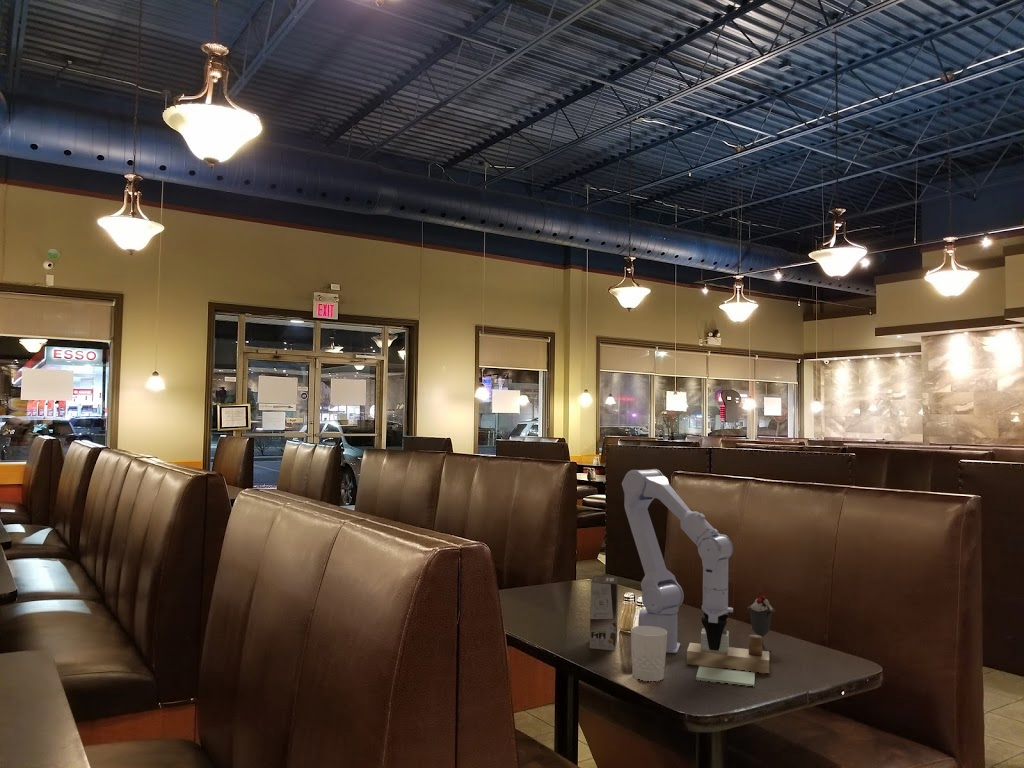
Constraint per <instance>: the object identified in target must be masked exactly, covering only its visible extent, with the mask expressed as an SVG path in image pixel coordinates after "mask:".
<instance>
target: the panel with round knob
mask: <svg viewBox="0 0 1024 768" xmlns="http://www.w3.org/2000/svg"><path fill="white" fill-rule="evenodd" d="M686 664H687V665H692V666H693V665H694V666H702V667H710V668H718V669H724V668H728V669H727V670H732V669H736V670H735V671H741V670H745V671H744V672H749V671H751V673H757V672H759V673H760V674H765V673H769V674H770V652H769V651H762V636H759V635H757V634H748V648H740V647H732V646H729V649H728V654H725V653H716V652H708V651H701V643H697V642H696V643H695V642H689V644H688V647H687V649H686ZM759 673H758V674H759Z"/></svg>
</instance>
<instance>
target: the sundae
mask: <svg viewBox="0 0 1024 768" xmlns="http://www.w3.org/2000/svg"><path fill="white" fill-rule="evenodd" d="M762 592H763V591H762V589H760V591H759V593H758V597H756V599H755V600H754V602H753V603H752V604H751V605H748V606H747V607H746V609H747V610H748V611H749V617H750V625H751V629H752V632H754V634H755V635H759V636H762V651H769V653H770V652H772V649H770V648H768V647H766V645H764V637H765V636H766V635H767V634H768V633H769V632H770V627H771V620H772V615H773V613H775V612H776V610H775V608H773V607H772V605H771V602H770V601H769V600H768V599H767V598H766V596H765V595H763V594H762Z"/></svg>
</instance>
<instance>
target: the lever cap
mask: <svg viewBox="0 0 1024 768" xmlns="http://www.w3.org/2000/svg"><path fill="white" fill-rule="evenodd" d="M729 633H730V632H729V630H727V629H723V632H722V636H721V643H720V648H719V651H715V650H709V646H708V640H707V635H706V631H705V628H704V627H703V628H702V629H701V632H700V644H701V651H708V652H716V653H725V654H728V649H729V647H730V643H729V641H730V637H729V636H730V634H729Z"/></svg>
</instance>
